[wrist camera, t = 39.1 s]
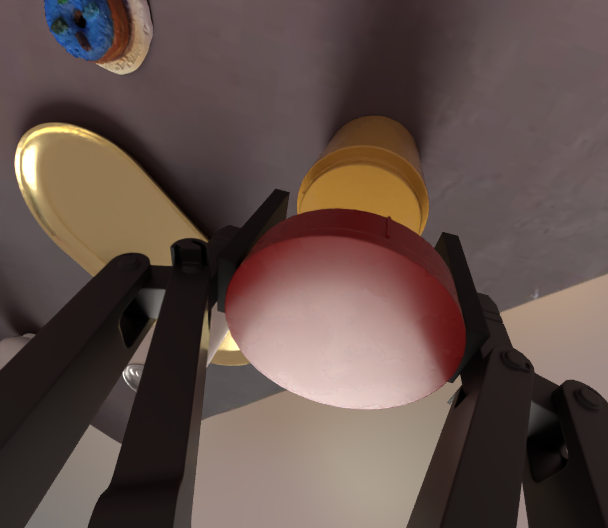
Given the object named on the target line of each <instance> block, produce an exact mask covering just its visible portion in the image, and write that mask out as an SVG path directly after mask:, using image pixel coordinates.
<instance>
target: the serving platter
mask: <svg viewBox="0 0 608 528" xmlns="http://www.w3.org/2000/svg"><path fill="white" fill-rule="evenodd" d="M15 171H16V177H17V181H18V184H19V188H20V190H21V193H22V195H23V198H24V200H25V202H26V204H27V206H28V207H29V209H30V211H31V213H32V214H33V216H34V217H35V219H36V220H37V222H38V223H39V224H40V226H41V227H42V228H43V230H44V231H45V232H46V233H47V234H48V235H49V237H50V238H51V239H52V240H53V241H54V242H55V243H56V244H57V245H58V246H59V247H60V248H61V249H62V250H63V251H65V252H66V253H67V254H68V255H69V256H70V257H72V258H73V259H74V260H75V261H76V262H77V263H78V264H80V265H81V266H82V267H83V268H84V269H85V270H86V271H88V272H89V273H90V274H91V275H92V276H93V277H94V276H95V275H96V274H97V273H98V272H99V271H100V270H101V269H102V268H103V267H104V266H105V265H106V264H107V263H108V262H109V261H110V260H112V259H113V258H115V257H116V256H118V255H121V254H124V253H131V252H133V253H141V254H144V255H146V256H147V257H148V258H149V259H150V264H151V265H162V266H172V260H171V252H170V247H171V245H172V244H173V243H174V242H176V241H178V240H180V239H184V238H197V239H201V240H203V241H205V242H208V241H210V240H209V238H208V237H207V236H206V235H205V234H204V233H203V232H202V231H201V230H200V229H199V228H198V226H197V225H196V224H195V223H194V222H193V221H192V220H191V219H190V218H189V217H188V216H187V214H186V213H185V212H184V211H183V210H182V209H181V208H180V207H179V206H178V205H177V204H176V202H175V201H174V200H173V199H172V198H171V197H170V196H169V195H168V194H167V193H166V192H165V191H164V189H163V188H162V187H161V186H160V185H159V184H158V183H157V182H156V181H155V180H154V179H153V177H152V176H151V175H150V174H149V173H148V172H147V171H146V170H145V169H144V168H143V167H142V165H141V164H139V163H138V162H137V161H136V160H135V159H134V158H133V157H132V156H131V155H130V154H129V153H128V152H126V151H125V150H124V149H122V148H121V147H120V146H118V145H117V144H116V143H114V142H113V141H111V140H109V139H108V138H106V137H104V136H102V135H101V134H99V133H97V132H94V131H92V130H90V129H88V128H85V127H82V126H79V125H75V124H71V123H65V122H47V123H42V124H39V125H36V126H34V127H32V128H31V129H30V130H28V131H27V132H26V133H25V134H24V135H23V136H22V138H21V139H20V141H19V143H18V146H17V149H16V153H15ZM156 322H157V319H156V321H155V322H154V324H153V325H152V327H153V326H154V325H155V323H156ZM210 363H214V364H220V365H229V366H236V365H244V364H248V363H250V362H249V360H248V359H247V358H246V357H245V356H244V355H243V353H242V352H241V351H240V349H239V348H238V346H237V345H236V343H235V341H234V339H233V338H232V336H231V333H230V331H228V332H227V334H226V336H225V338H224V339H223V341H222V343H221V344H220V346H219V348H218V349H217V351H216V353H215V354H214V356H213V358H212V360H211V361H210Z"/></svg>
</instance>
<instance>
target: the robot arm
mask: <svg viewBox="0 0 608 528" xmlns="http://www.w3.org/2000/svg"><path fill="white" fill-rule="evenodd" d="M289 193H290V192H286V191H282V190H278V189H275V190H274V191H273V192H272V194H271V195H270V196H269V197H268V198H267V199H266V200H265V202H264V203H263V204H262V205H261V206H260V207H259V208H258V210H257V211H256V212H255V213H254V214H253V215H252V216H251V218H250V219H249V220H248V221H247V222H246V223H245V224H244V226H243V227H242V228H238V227H235V226H231V225H229V226H226V227H224V228H222V229H220V230H219V231H218V232H217V233H216V234H215V235H214V236H213V237H212V238H211V239H210V241H208V242H205V241H203V240H201V239H197V238H184V239H180V240H178V241H176V242H174V243H173V244H172V245H171V247H170V252H171V260H172V266H162V265H151V264H150V259H149V258H148V257H147V256H146V255H144V254H141V253H133V252H131V253H124V254H121V255H118V256H116V257H115V258H113V259H112V260H110V261H109V262H108V263H107V264H106V265H105V266H104V267H103V268H102V269H101V270H100V271H99V272H98V273H97V274H96V275H95V276H94V277H93V278H92V279H91V280H90V281H89V282H88V283H87V284H86V285H85V286H84V287H83V288H82V289H81V290H80V291H79V292H78V293H77V294H76V295H75V296H74V297H73V298H72V299H71V300H70V301H69V302H68V303H67V304H66V305H65V306H64V307H63V308H62V309H61V310H60V311H59V312H58V313H57V314H56V315H55V316H54V317H53V318H52V319H51V320H50V321H49V322H48V323H47V324H46V325H45V326H44V327H43V328H42V329H41V330H40V331H39V332H38V333H37V334H36V335H35V336H34V337H33V338H32V339H31V340H30V341H29V342H28V343H27V344H26V345H25V346H24V347H23V348H22V349H21V350H20V351H19V352H18V353H17V354H16V355H15V356H14V357H13V358H12V359H11V360H10V361H9V362H8V363H7V364H6V365H5V366H4V367H3V368H2V369H1V370H0V528H24V527H25V526H26V524H27V523H28V521H29V519H30V518H31V516H32V515H33V513H34V512H35V510H36V508H37V507H38V505H39V504H40V502H41V501H42V499H43V497H44V496H45V494H46V493H47V491H48V489H49V488H50V486H51V485H52V483H53V482H54V480H55V478H56V477H57V475H58V474H59V472H60V471H61V469H62V467H63V466H64V464H65V463H66V461H67V459H68V458H69V456H70V455H71V453H72V452H73V450H74V448H75V447H76V445H77V444H78V442H79V440H80V439H81V437H82V436H83V434H84V432H85V431H86V430H87V428H88V426H89V425H90V423H91V422H92V420H93V419H94V417H95V415H96V414H97V412H98V411H99V409H100V407H101V406H102V404H103V403H104V401H105V400H106V398H107V396H108V395H109V393H110V392H111V390H112V389H113V387H114V385H115V384H116V382H117V381H118V379H119V377H120V376H121V374H122V373H123V371H124V370H125V368H126V366H127V365H128V363H129V362H130V360H131V359H132V357H133V355H134V354H135V352H136V351H137V349H138V348H139V346H140V344H141V343H142V341H143V340H144V338H145V336H146V335H147V333H148V332H149V330H150V329H151V327H152V325H153V324H154V322H155V321H156V319H157V322H156V325H155V329H154V332H153V336H152V340H151V343H150V347H149V350H148V354H147V357H146V361H145V364H144V368H143V371H142V375H141V378H140V382H139V386H138V389H137V393H136V396H135V400H134V403H133V407H132V410H131V414H130V417H129V421H128V424H127V428H126V432H125V435H124V439H123V442H122V446H121V450H120V453H119V456H118V460H117V464H116V467H115V471H114V474H113V477H112V480H111V483H110V485H109V487H108V488H107V489H106V490H105V491H104V492H103V493H102V494H101V495H100V497H99V499H98V501H97V503H96V505H95V507H94V510H93V513H92V516H91V518H90V521H89V524H88V528H191V514H192V504H193V495H194V484H195V475H196V465H197V455H198V446H199V436H200V425H201V416H202V407H203V397H204V387H205V377H206V368H207V358H208V348H209V338H210V328H211V319H212V308H213V306H214V305H215V304H216V302H217V311H219V312H222V313H225V296H226V291H227V288H228V284H229V282H230V280H231V278H232V276H233V274H234V273H235V271H236V270H237V269H238V267H239V266H240V265H241V263H242V262H243V260H244V259H245V258H246V256H247V255H248V254H249V252H250V251H251V249H252V248H253V247H254V245H255V244H256V243H257V241H258V240H259V239H260V238H261V237H262V236H263V235H264V234H265V233H266V232H267V231H268V230H269V229H271V228H272V227H274V226H275V225H277V224H278V223H280V222H281V221H284V220H286V214H287V207H288V200H289ZM434 249H435V250H436V251H437V252H438V253H439V255H440V256H441V257H442V259H443V260H444V262H445V263H446V265H447V266H448V268H449V270H450V273H451V275H452V277H453V280H454V283H455V287H456V291H457V295H458V299H459V303H460V307H461V311H462V315H463V319H464V324H465V328H466V346H465V351H464V355H463V358H462V360H461V363H460V365H459V367H458V369H457V370H456V372H455V373H454V375H453V376H452V377H451V378H450V379H449V380H448V381H447V382H450V383H453V382H454V381H455V379H456V378H457V377H458V376H459V375H460V376H461V381H462V385H461V387H460V388H459V389H458V390H457V391H456V392H455V394H454V395H453V396H452V397H451V398H450V400H449V401H448V404H451V403H452V405H451V408H450V410H449V413H448V416H447V419H446V421H445V424H444V427H443V429H442V432H441V435H440V437H439V440H438V443H437V446H436V449H435V451H434V454H433V456H432V459H431V462H430V465H429V468H428V470H427V473H426V475H425V478H424V481H423V484H422V486H421V489H420V492H419V495H418V497H417V500H416V503H415V505H414V508H413V511H412V514H411V516H410V519H409V522H408V524H407V527H406V528H516V525H517V517H518V508H519V501H520V492H521V484H523V491H524V498H525V505H526V512H527V518H528V526H529V528H608V403H607V401H606V400H605V399H604V398H603V397H602V396H601V395H600V394H599V393H598V392H597V391H595V390H594V389H593V388H591V387H590V386H588V385H586V384H584V383H582V382H579V381H575V380H566V381H565V382H564V383H562V384H561V385H560V386H558V385H557V384H555V383H553V382H551V381H549V380H547V379H545V378H543V377H541V376H539V375H538V374H536V373H535V372H534V367H533V365H532V364H531V362H530V360H528V359H527V358H526V357H525V356H524V355H523V354H522V353H521V352H519V351H517V350H516V349H514V348H513V346H512V344H511V342H510V339H509V336H508V334H507V331H506V328H505V326H504V324H503V321H502V318H501V316H500V313H499V310H498V308H497V305H496V304H495V303H494V302H493V301H492V299H491V298H490V297H489V296H488V295H485V294H481V293H477V292H476V289H475V286H474V283H473V279H472V276H471V273H470V270H469V267H468V264H467V261H466V258H465V255H464V252H463V249H462V246H461V243H460V240H459V237H458V236H456V235H452V234H449V233H445V232H442V234H441V236H440V238H439V240H438V242H437V244H436V246H435V248H434ZM566 448H567V450H566ZM567 452H568V454H567Z"/></svg>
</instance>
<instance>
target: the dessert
mask: <svg viewBox="0 0 608 528" xmlns="http://www.w3.org/2000/svg"><path fill="white" fill-rule="evenodd" d="M44 3H45V7H44V8H45V16H46V19H47V24H48V26H49V29H50V31H51V33H52V35H53V36H54V37H55V38H56V40H57V42H58V43H60V44H61V46H62V47H65V48H66V49H65V50H66V51H67V52H68V53H70V54H72V55H73V56H75V57H76V58H78V57H80V58H83V59H85V60H86V61H87V62H88V61H89V62H94V63H96V64H97V65H99V66H101V67H103V68H105V69H107V70H109V71H112V72H114V73H117V74H121V75H123V74H127V73H131V72H133V71H135V70H136V69H137V68H138V67H139V66H140V65H141V64H142V62H143V60H144V58H145V56H146V54H147V53H148V49H149V45H150V42H151V40H152V37H153V24H152V21H151V18H150V11H149V6H148V4H147V0H44ZM74 54H75V55H74Z"/></svg>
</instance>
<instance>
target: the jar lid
mask: <svg viewBox="0 0 608 528" xmlns="http://www.w3.org/2000/svg"><path fill="white" fill-rule="evenodd" d="M225 317H226V321H227V325H228V328H229V331H230V333H231V336H232V338H233V339H234V341H235V343H236V345H237V346H238V348H239V349H240V351H241V352H242V353H243V355H244V356H245V357H246V358H247V359H248V360H249V362H250V363H251V364H252V365H253V366H254V367H256V368H257V369H258V370H259V371H260V372H261V373H262V374H264V375H265V376H266V377H268V378H269V379H270V380H272V381H273V382H275V383H277V384H278V385H280V386H282V387H283V388H285V389H287V390H289V391H291V392H293V393H295V394H297V395H300V396H302V397H305V398H307V399H310V400H313V401H316V402H320V403H323V404H327V405H332V406H336V407H342V408H349V409H384V408H392V407H397V406H402V405H406V404H409V403H412V402H415V401H418V400H420V399H422V398H425V397H427V396H428V395H430V394H432V393H433V392H435V391H437V390H438V389H439V388H440V387H442V386H443V385H444V384H445V383H446V382H447V381H448V380H449V379H450V378H451V377H452V376H453V375H454V373H455V372H456V370H457V369H458V367H459V365H460V363H461V360H462V358H463V355H464V351H465V346H466V328H465V324H464V319H463V315H462V311H461V307H460V303H459V299H458V295H457V291H456V287H455V283H454V280H453V277H452V275H451V273H450V270H449V268H448V266H447V265H446V263H445V262H444V260H443V259H442V257H441V256H440V255H439V253H438V252H437V251H436V250H435V249H434V248H433V247H432V246H431V245H430V244H429V243H428V242H427V241H426V240H424V239H423V238H422V237H421V236H420V235H419V234H417V233H415V232H414V231H412V230H411V229H409V228H408V227H406V226H404V225H402V224H400V223H398V222H396V221H394V220H392V219H391V217H390V216H388V217H384V216H381V215H378V214H375V213H371V212H367V211H361V210H356V209H343V208H333V209H332V208H329V209H319V210H314V211H308V212H304V213H301V214H298V215H295V216H292V217H290V218H288V219H286V220H284V221H281V222H280V223H278V224H277V225H275V226H274V227H272V228H271V229H269V230H268V231H267V232H266V233H265V234H264V235H263V236H262V237H261V238H260V239H259V240H258V241H257V243H256V244H255V245H254V247H253V248H252V249H251V251H250V252H249V254H248V255H247V256H246V258H245V259H244V260H243V262H242V263H241V265H240V266H239V267H238V269H237V270H236V271H235V273H234V274H233V276H232V278H231V280H230V282H229V284H228V288H227V291H226V296H225Z"/></svg>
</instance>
